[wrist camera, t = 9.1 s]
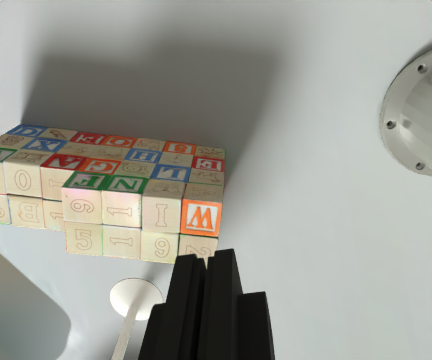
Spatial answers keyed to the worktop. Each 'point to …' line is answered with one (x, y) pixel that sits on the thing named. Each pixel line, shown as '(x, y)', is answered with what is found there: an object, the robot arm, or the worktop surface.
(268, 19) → the worktop surface
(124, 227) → the stack of blocks
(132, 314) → the champagne flute
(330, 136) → the worktop surface
